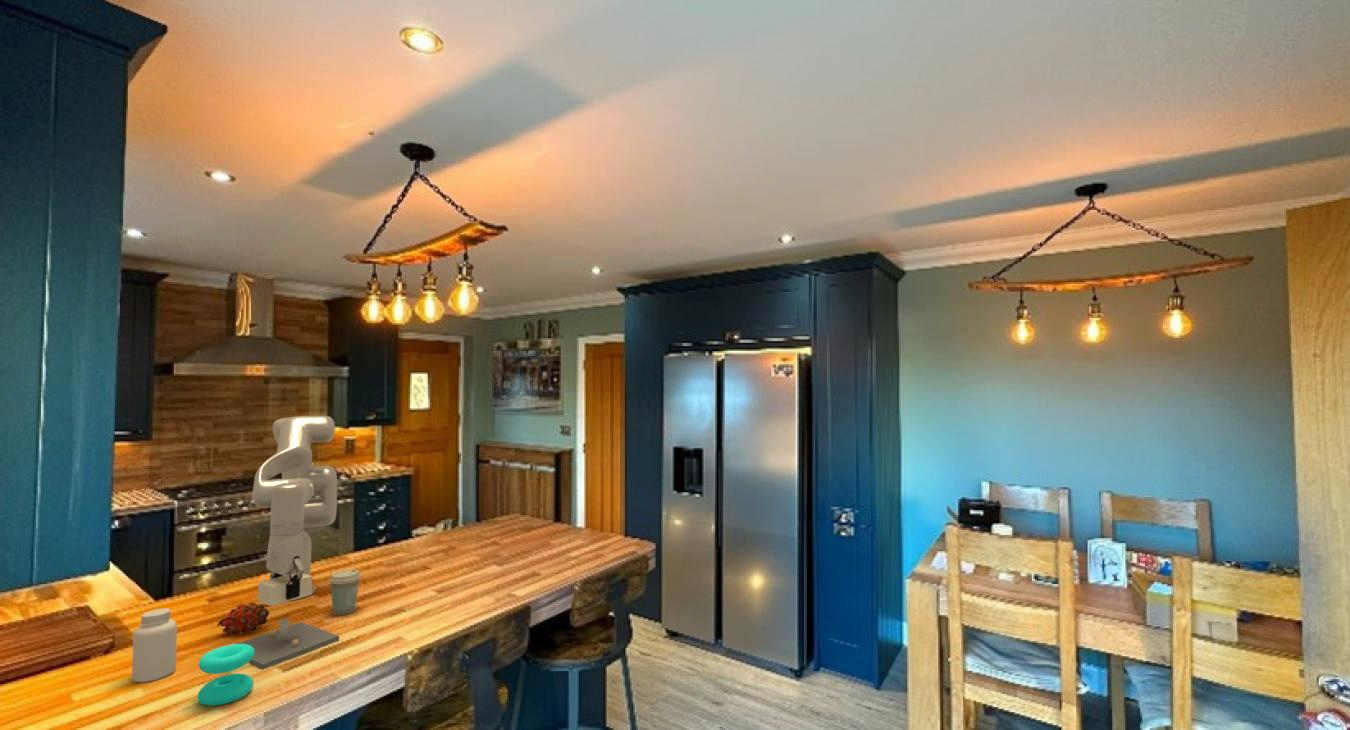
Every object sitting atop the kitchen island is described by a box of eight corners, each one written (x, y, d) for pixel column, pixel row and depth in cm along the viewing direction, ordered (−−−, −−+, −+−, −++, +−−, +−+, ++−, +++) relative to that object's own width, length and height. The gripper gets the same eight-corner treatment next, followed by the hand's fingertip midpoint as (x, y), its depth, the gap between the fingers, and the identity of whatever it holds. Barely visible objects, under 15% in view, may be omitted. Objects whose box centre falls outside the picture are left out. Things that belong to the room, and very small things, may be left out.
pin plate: (225, 651, 152) (225, 624, 153) (300, 626, 169) (301, 601, 169) (262, 669, 143) (263, 640, 143) (339, 640, 160) (339, 614, 160)
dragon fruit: (272, 633, 167) (220, 649, 161) (271, 608, 173) (221, 623, 167) (267, 616, 163) (214, 631, 157) (266, 591, 169) (215, 605, 162)
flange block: (271, 606, 151) (272, 586, 151) (257, 601, 154) (258, 582, 154) (311, 594, 159) (312, 576, 159) (297, 589, 163) (298, 571, 163)
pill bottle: (149, 667, 144) (152, 606, 144) (184, 666, 144) (186, 605, 145) (122, 684, 136) (124, 619, 136) (158, 682, 136) (161, 618, 137)
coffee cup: (345, 618, 174) (346, 578, 175) (321, 616, 176) (322, 576, 177) (366, 608, 183) (367, 569, 183) (342, 605, 185) (343, 567, 185)
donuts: (259, 638, 138) (247, 656, 128) (258, 681, 137) (246, 702, 128) (207, 646, 134) (191, 665, 125) (206, 690, 133) (190, 712, 124)
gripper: (255, 527, 158) (252, 593, 158) (289, 536, 150) (287, 606, 149) (284, 522, 165) (282, 585, 164) (319, 530, 156) (317, 596, 156)
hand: (284, 594), depth 157 cm, fingers closed on flange block, 7 cm apart
